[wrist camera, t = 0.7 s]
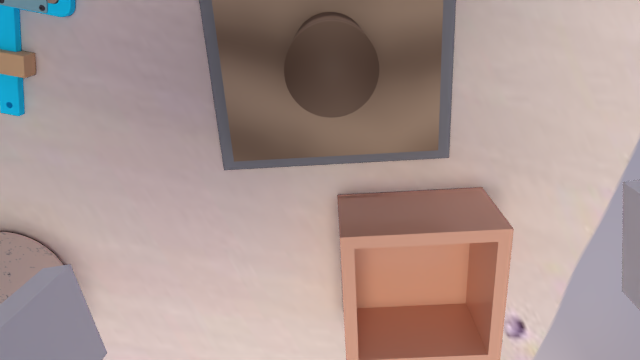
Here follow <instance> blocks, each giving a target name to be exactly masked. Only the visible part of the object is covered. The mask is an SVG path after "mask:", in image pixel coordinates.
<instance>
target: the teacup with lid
mask: <svg viewBox="0 0 640 360" xmlns="http://www.w3.org/2000/svg"><path fill="white" fill-rule="evenodd" d="M61 265H63V264H62V262H61V261H60V260H59V259H58V258H57V256H56V255H55V254H54V253H52V252H51V251H50V250H49V249H48V248H46V247H45V246H44V245H42V244H40V243H39V242H37V241H35V240H33V239H31V238H28V237H26V236H23V235H19V234H15V233H9V232H0V304H1V303H3V302H4V301H5V300H6V299H7V298H8V297H10V296H11V295H12V294H13V293H14V292H16V291H17V290H18V289H19V288H20V287H21V286H23V285H24V284H25V283H26V282H27V281H29V280H30V279H31V278H32V277H33V276H34V275H36V274H37V273H38V272H39V271H40V270H42V269H43V268H48V267H55V266H61Z"/></svg>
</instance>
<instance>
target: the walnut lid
mask: <svg viewBox="0 0 640 360" xmlns="http://www.w3.org/2000/svg"><path fill="white" fill-rule="evenodd" d="M212 6H213V13H214V20H215V28H216V35H217V42H218V49H219V57H220V64H221V71H222V79H223V86H224V93H225V100H226V108H227V115H228V122H229V129H230V137H231V144H232V151H233V158H234V162H236V161H254V160H272V159H290V158H308V157H326V156H345V155H363V154H381V153H399V152H417V151H435V150H438V142H439V113H440V83H441V54H442V24H443V0H212Z"/></svg>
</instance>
